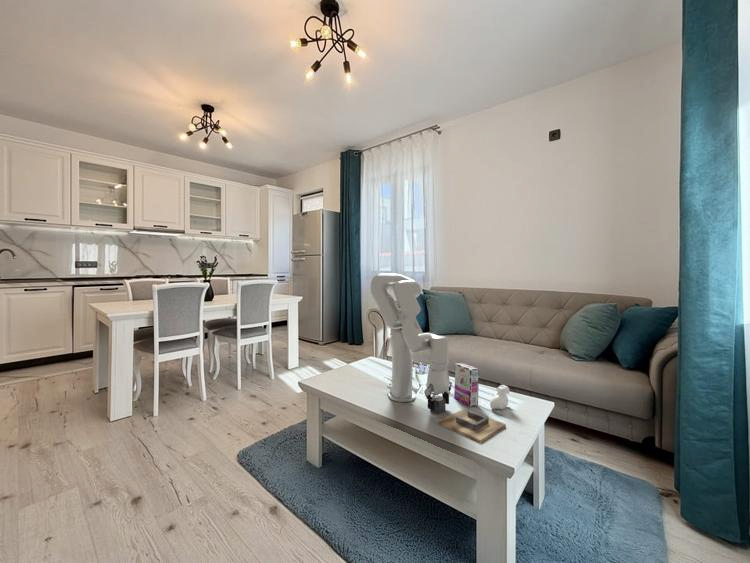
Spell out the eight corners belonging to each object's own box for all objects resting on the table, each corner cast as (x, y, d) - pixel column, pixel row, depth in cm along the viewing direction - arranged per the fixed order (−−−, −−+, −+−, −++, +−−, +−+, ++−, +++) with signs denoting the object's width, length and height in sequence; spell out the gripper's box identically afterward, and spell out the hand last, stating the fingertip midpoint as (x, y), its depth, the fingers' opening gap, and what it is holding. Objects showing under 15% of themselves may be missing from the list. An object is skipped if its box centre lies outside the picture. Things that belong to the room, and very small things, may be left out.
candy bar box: (478, 405, 138) (479, 368, 137) (469, 407, 136) (470, 369, 135) (462, 396, 148) (463, 362, 148) (453, 398, 146) (454, 363, 146)
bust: (494, 417, 132) (511, 400, 127) (480, 402, 136) (497, 385, 131) (505, 408, 140) (521, 393, 135) (492, 394, 144) (508, 379, 139)
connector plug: (430, 410, 132) (430, 396, 131) (436, 408, 135) (437, 394, 134) (438, 414, 128) (439, 400, 128) (445, 411, 131) (445, 397, 131)
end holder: (437, 423, 120) (438, 415, 120) (464, 410, 132) (464, 403, 132) (480, 442, 107) (480, 434, 107) (505, 426, 118) (505, 419, 118)
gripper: (444, 360, 139) (443, 398, 140) (418, 367, 128) (418, 409, 128) (458, 364, 134) (458, 403, 134) (433, 371, 122) (432, 415, 123)
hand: (438, 406), depth 131 cm, fingers open, 9 cm apart
